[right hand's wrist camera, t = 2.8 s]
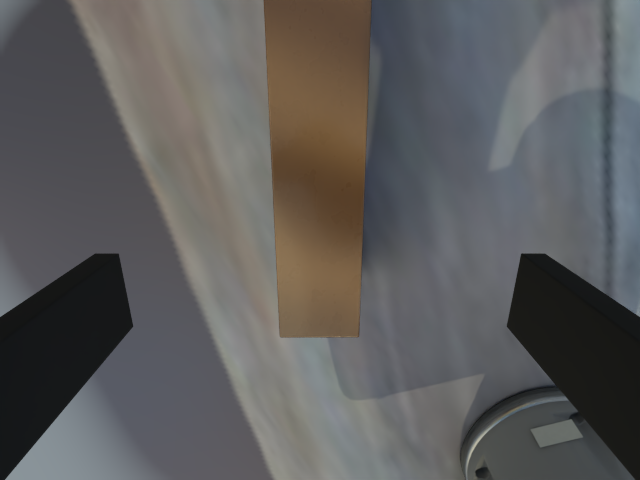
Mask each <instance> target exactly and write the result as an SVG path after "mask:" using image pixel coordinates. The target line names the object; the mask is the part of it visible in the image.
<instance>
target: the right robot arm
mask: <svg viewBox="0 0 640 480" xmlns="http://www.w3.org/2000/svg"><path fill="white" fill-rule="evenodd" d="M132 327H133V323H132V318H131V313H130V308H129V303H128V298H127V293H126V288H125V283H124V278H123V273H122V268H121V263H120V258H119V254H94V255H92V256H91V257H89V258H88V259H86V260H85V261H83V262H82V263H81V264H79V265H77V266H76V267H75V268H73V269H71V270H70V271H69V272H67V273H66V274H64V275H63V276H61V277H60V278H58V279H57V280H55V281H54V282H52V283H51V284H49V285H48V286H46V287H45V288H43V289H42V290H40V291H39V292H37V293H36V294H34V295H33V296H31V297H30V298H28V299H27V300H25V301H24V302H22V303H21V304H19V305H18V306H16V307H15V308H13V309H12V310H10V311H9V312H7V313H6V314H4V315H3V316H1V317H0V480H5V479H6V478H7V476H8V475H9V474H10V473H11V472H12V470H13V469H14V468H15V467H16V466H17V464H18V463H19V462H20V461H21V460H22V459H23V457H24V456H25V455H26V454H27V453H28V451H29V450H30V449H31V448H32V447H33V445H34V444H35V443H36V442H37V441H38V439H39V438H40V437H41V436H42V435H43V433H44V432H45V431H46V430H47V429H48V428H49V426H50V425H51V424H52V423H53V422H54V420H55V419H56V418H57V417H58V416H59V414H60V413H61V412H62V411H63V410H64V408H65V407H66V406H67V405H68V404H69V402H70V401H71V400H72V399H73V398H74V396H75V395H76V394H77V393H78V392H79V391H80V389H81V388H82V387H83V386H84V385H85V383H86V382H87V381H88V380H89V379H90V377H91V376H92V375H93V374H94V373H95V371H96V370H97V369H98V368H99V367H100V365H101V364H102V363H103V362H104V361H105V359H106V358H107V357H108V356H109V355H110V353H111V352H112V351H113V350H114V349H115V348H116V346H117V345H118V344H119V343H120V342H121V340H122V339H123V338H124V337H125V336H126V334H127V333H128V332H129V331H130V330H131V328H132ZM507 327H508V328H509V330H510V331H511V332H512V333H513V334H514V336H515V337H516V338H517V339H518V340H519V342H520V343H521V344H522V345H523V346H524V348H525V349H526V350H527V351H528V352H529V353H530V355H531V356H532V357H533V358H534V359H535V361H536V362H537V363H538V364H539V365H540V367H541V368H542V369H543V370H544V371H545V373H546V374H547V375H548V376H549V377H550V379H551V380H552V381H553V382H554V383H555V385H556V386H557V387H551V388H542V389H536V390H531V391H527V392H524V393H521V394H518V395H515V396H513V397H511V398H508V399H506V400H504V401H502V402H501V403H499V404H497V405H496V406H494V407H493V408H491V409H490V410H489V411H487V412H486V413H485V414H484V415H483V416H482V417H481V418H479V419H478V421H477V422H476V423H475V424H474V425H473V427H472V428H471V429H470V431H469V432H468V434H467V436H466V438H465V440H464V443H463V446H462V450H461V467H462V471H463V474H464V477H465V479H466V480H640V317H639V316H637V315H636V314H634V313H633V312H631V311H630V310H628V309H627V308H625V307H624V306H622V305H621V304H619V303H618V302H616V301H615V300H613V299H612V298H610V297H609V296H607V295H606V294H604V293H603V292H601V291H600V290H598V289H597V288H595V287H594V286H592V285H591V284H589V283H588V282H586V281H585V280H583V279H582V278H580V277H579V276H577V275H576V274H574V273H573V272H571V271H570V270H569V269H567V268H566V267H564V266H563V265H561V264H560V263H558V262H557V261H555V260H554V259H552V258H551V257H549V256H548V255H546V254H521V258H520V263H519V268H518V273H517V278H516V283H515V288H514V293H513V298H512V303H511V308H510V313H509V318H508V323H507Z"/></svg>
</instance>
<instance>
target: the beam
mask: <svg viewBox="0 0 640 480" xmlns="http://www.w3.org/2000/svg"><path fill="white" fill-rule="evenodd" d="M371 4H372V0H264V16H265V37H266V58H267V79H268V100H269V121H270V141H271V162H272V183H273V204H274V225H275V246H276V267H277V288H278V308H279V329H280V337H359V326H360V299H361V273H362V246H363V219H364V192H365V165H366V138H367V111H368V85H369V58H370V31H371Z"/></svg>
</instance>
